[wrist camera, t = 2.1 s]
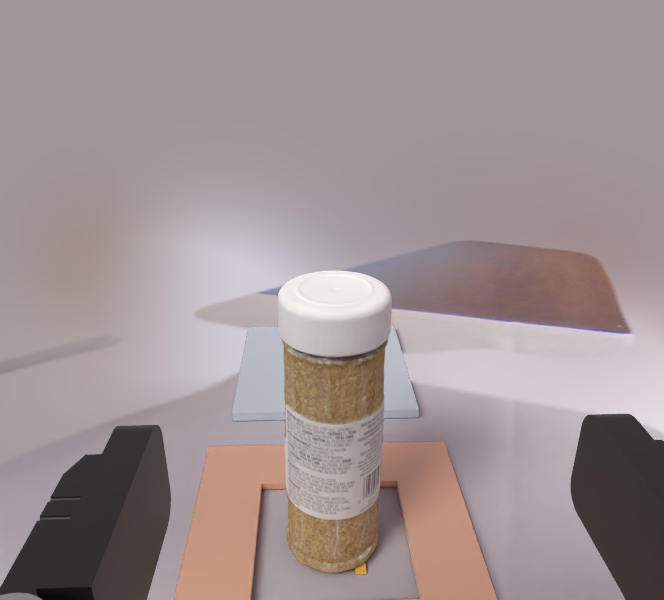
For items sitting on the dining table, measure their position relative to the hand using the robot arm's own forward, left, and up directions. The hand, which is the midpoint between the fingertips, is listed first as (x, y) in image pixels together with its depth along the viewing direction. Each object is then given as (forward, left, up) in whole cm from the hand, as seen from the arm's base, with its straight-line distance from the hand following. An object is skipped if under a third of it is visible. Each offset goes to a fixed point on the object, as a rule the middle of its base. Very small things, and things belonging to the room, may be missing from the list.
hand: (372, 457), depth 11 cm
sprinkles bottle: (0, +13, -15) cm, 20 cm away
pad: (0, +29, -15) cm, 32 cm away
